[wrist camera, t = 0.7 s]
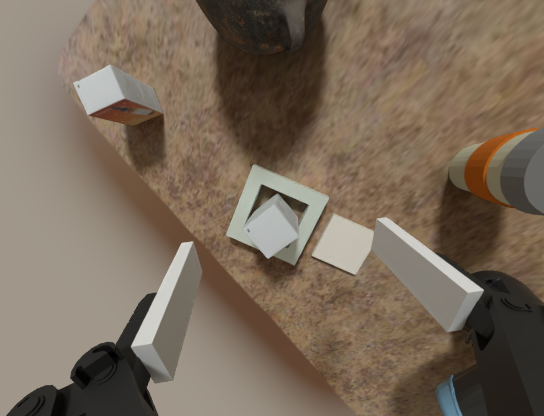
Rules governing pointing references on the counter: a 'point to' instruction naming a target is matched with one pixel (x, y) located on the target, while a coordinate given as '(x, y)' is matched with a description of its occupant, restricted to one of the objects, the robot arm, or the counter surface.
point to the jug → (263, 22)
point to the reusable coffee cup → (504, 170)
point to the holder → (287, 187)
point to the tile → (344, 244)
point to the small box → (117, 97)
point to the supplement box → (272, 226)
